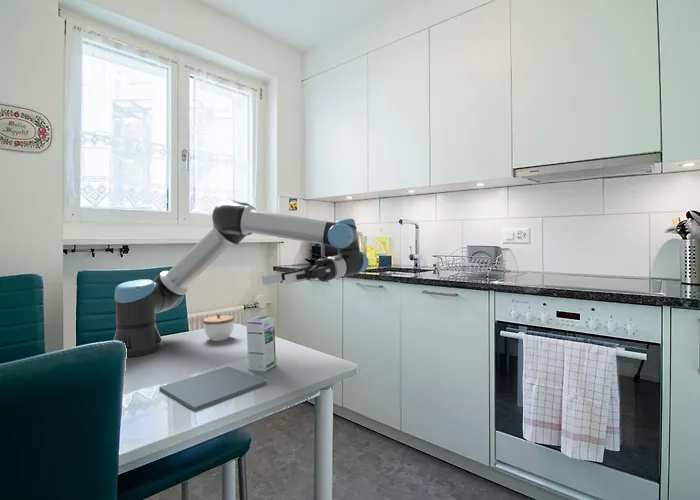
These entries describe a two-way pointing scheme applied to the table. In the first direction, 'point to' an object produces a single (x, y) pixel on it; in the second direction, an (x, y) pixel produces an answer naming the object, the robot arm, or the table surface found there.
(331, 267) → the robot arm
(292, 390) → the table surface
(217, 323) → the lidded jar
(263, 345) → the syrup box
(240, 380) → the mat
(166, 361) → the table surface
